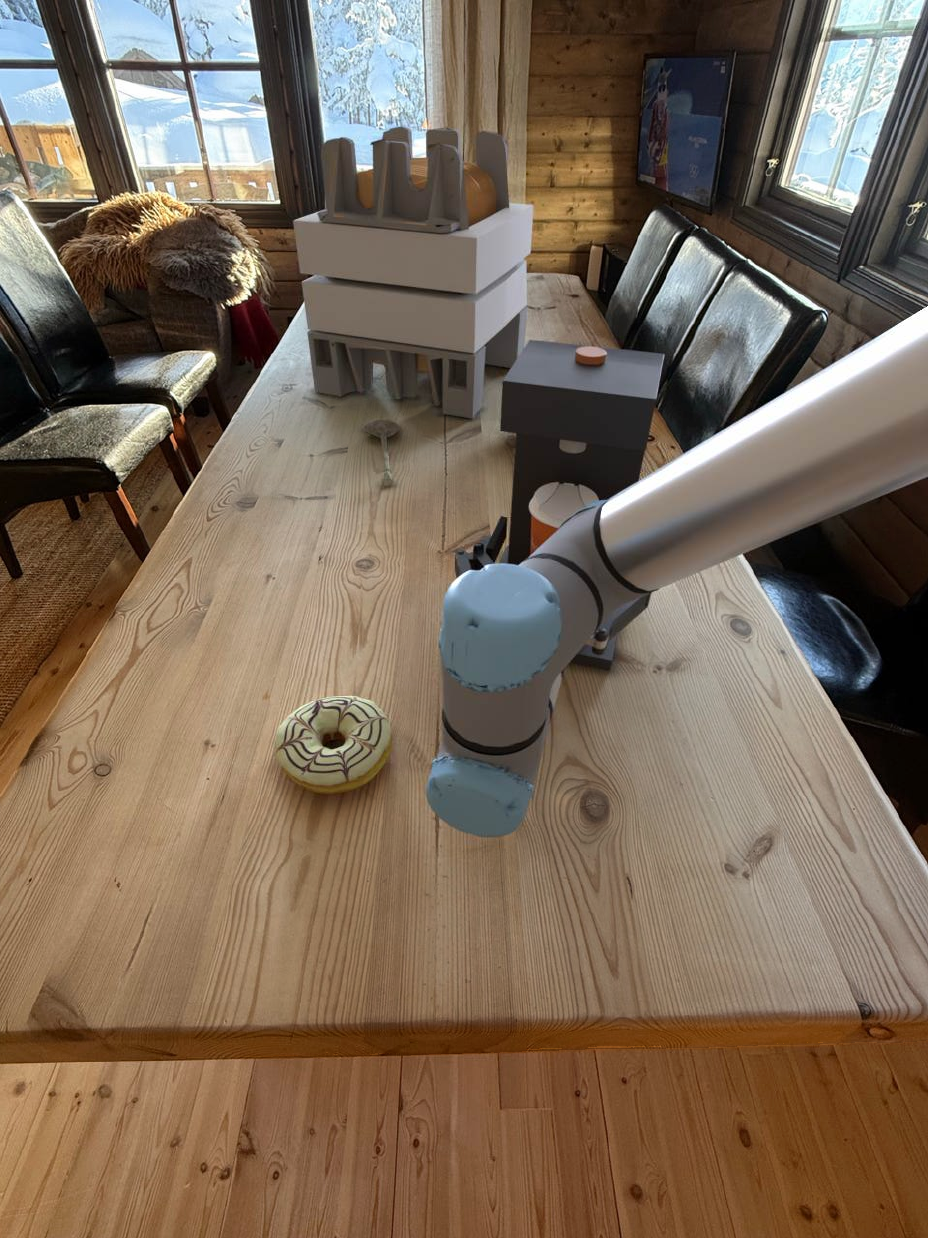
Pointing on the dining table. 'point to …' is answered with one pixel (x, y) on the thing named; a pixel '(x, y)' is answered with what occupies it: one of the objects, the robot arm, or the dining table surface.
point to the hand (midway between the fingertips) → (563, 536)
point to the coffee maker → (576, 431)
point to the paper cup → (555, 509)
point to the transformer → (415, 268)
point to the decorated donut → (329, 721)
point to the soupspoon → (383, 441)
